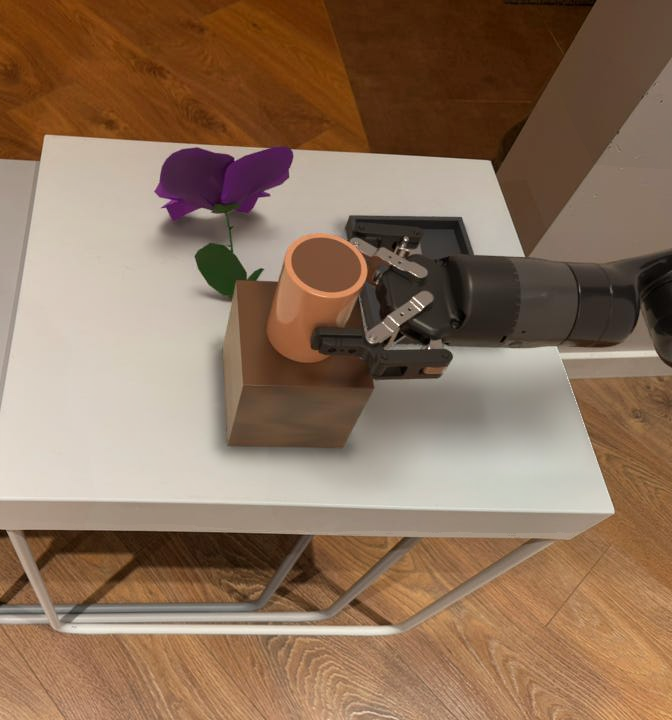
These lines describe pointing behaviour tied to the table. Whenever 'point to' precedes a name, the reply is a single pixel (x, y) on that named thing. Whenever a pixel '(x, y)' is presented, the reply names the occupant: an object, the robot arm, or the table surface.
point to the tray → (436, 243)
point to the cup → (314, 293)
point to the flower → (220, 198)
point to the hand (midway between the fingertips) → (306, 295)
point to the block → (286, 382)
